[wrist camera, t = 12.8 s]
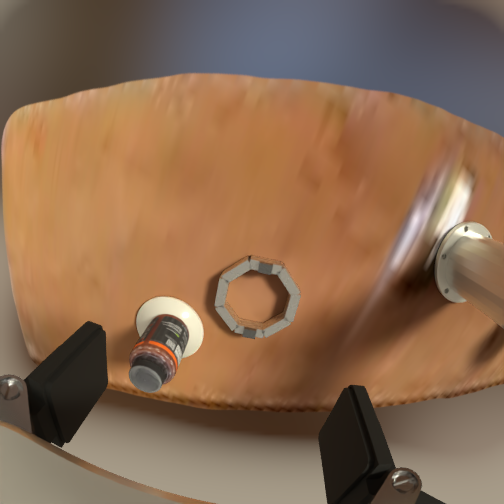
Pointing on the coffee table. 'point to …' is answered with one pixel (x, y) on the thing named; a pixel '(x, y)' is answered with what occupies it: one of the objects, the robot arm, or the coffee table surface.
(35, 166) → the coffee table surface
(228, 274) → the ring holder
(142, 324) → the coaster
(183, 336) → the supplement bottle
